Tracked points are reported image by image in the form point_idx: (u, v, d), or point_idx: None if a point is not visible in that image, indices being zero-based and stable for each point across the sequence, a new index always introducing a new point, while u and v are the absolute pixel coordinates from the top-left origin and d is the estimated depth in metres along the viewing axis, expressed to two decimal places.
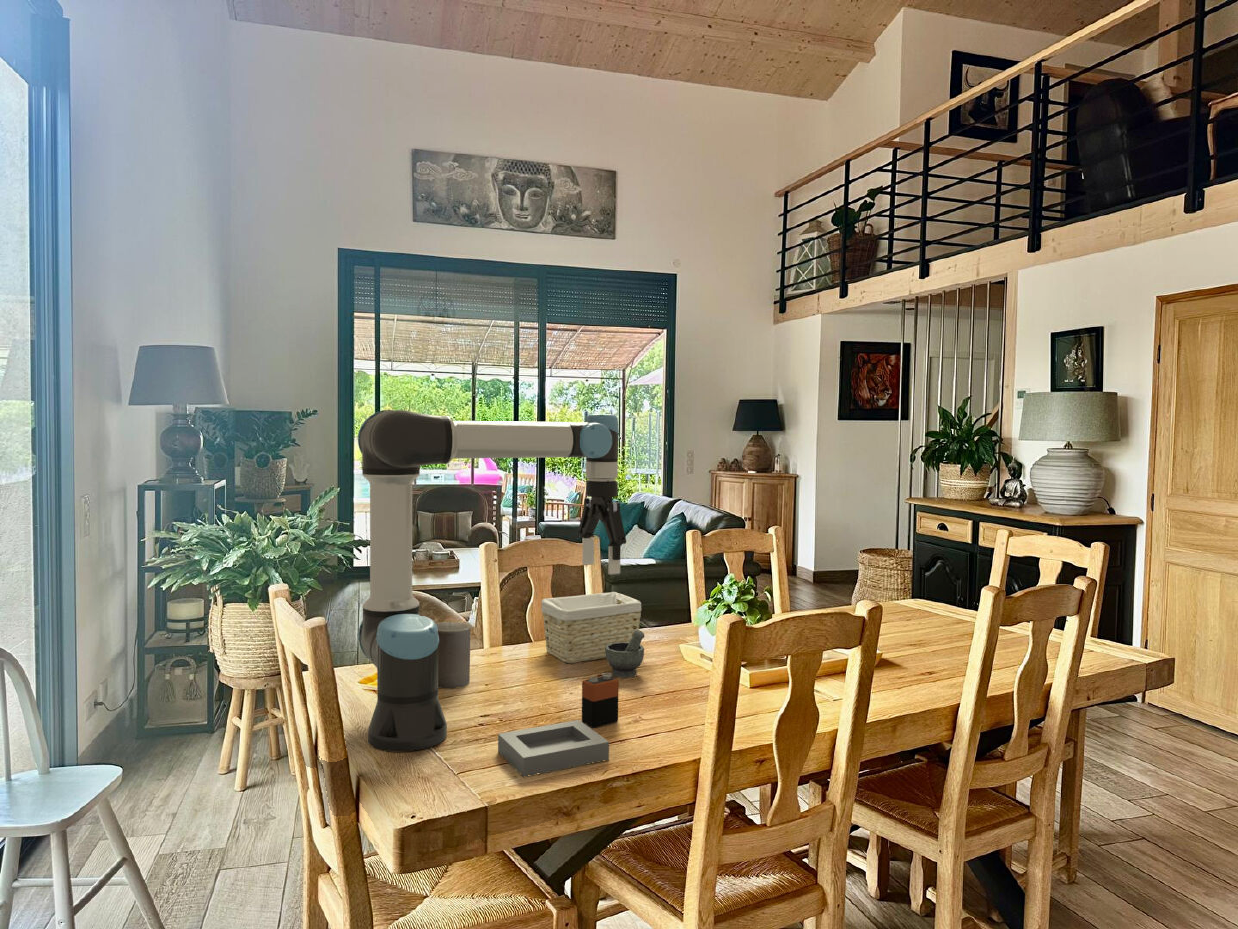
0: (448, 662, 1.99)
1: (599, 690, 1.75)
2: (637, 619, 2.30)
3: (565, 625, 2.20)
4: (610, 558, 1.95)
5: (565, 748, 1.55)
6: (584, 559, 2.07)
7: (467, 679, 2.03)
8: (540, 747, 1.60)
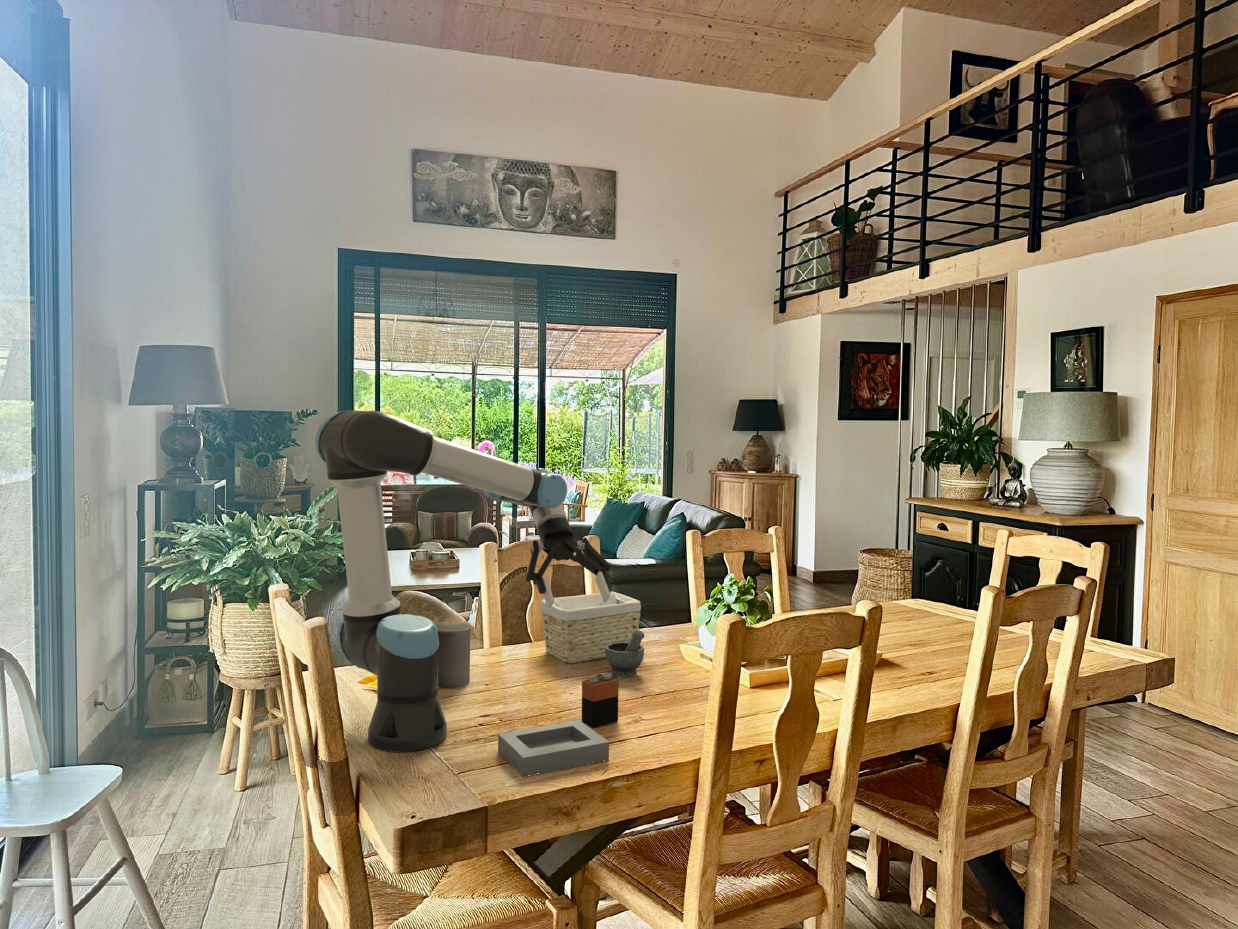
0: (448, 662, 1.99)
1: (599, 690, 1.75)
2: (637, 619, 2.30)
3: (566, 625, 2.20)
4: (605, 582, 1.91)
5: (565, 748, 1.55)
6: (552, 596, 1.84)
7: (467, 679, 2.03)
8: (540, 747, 1.60)
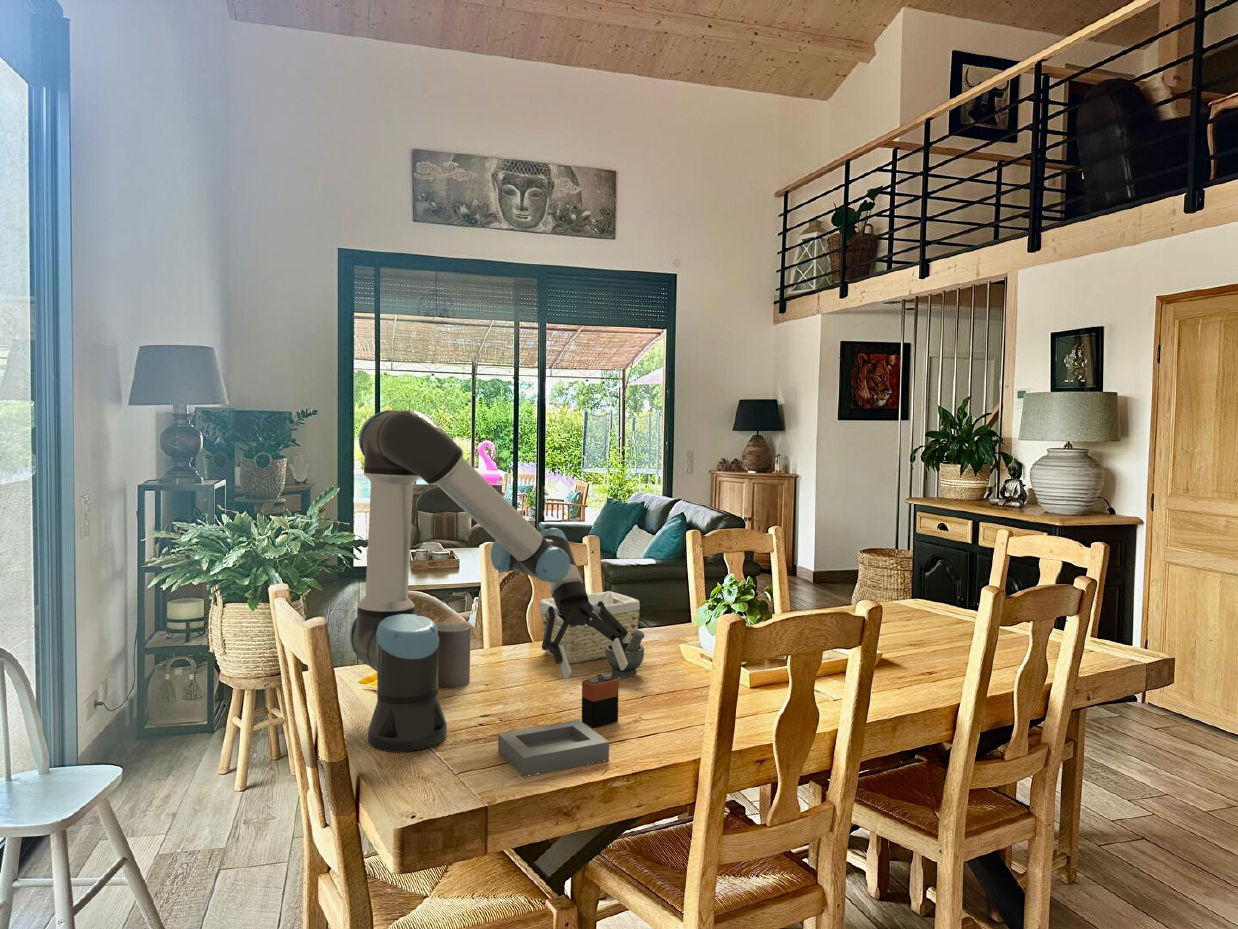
0: (448, 662, 1.99)
1: (599, 690, 1.75)
2: (636, 618, 2.31)
3: None
4: (622, 649, 1.88)
5: (565, 748, 1.55)
6: None
7: (467, 679, 2.03)
8: (540, 747, 1.60)
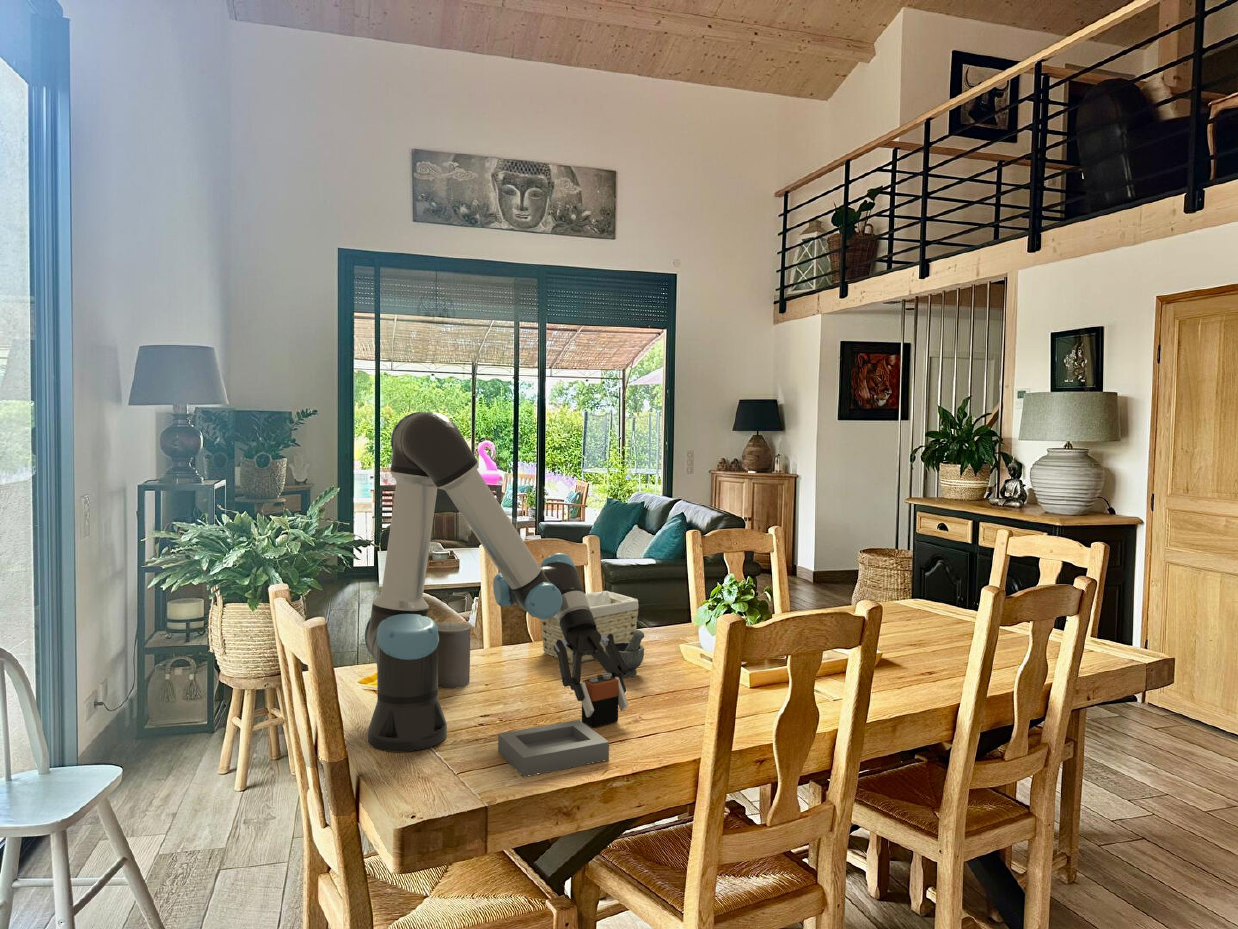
0: (448, 662, 1.99)
1: (599, 689, 1.75)
2: (635, 617, 2.32)
3: None
4: (622, 689, 1.79)
5: (565, 748, 1.55)
6: None
7: (467, 679, 2.03)
8: (540, 747, 1.60)
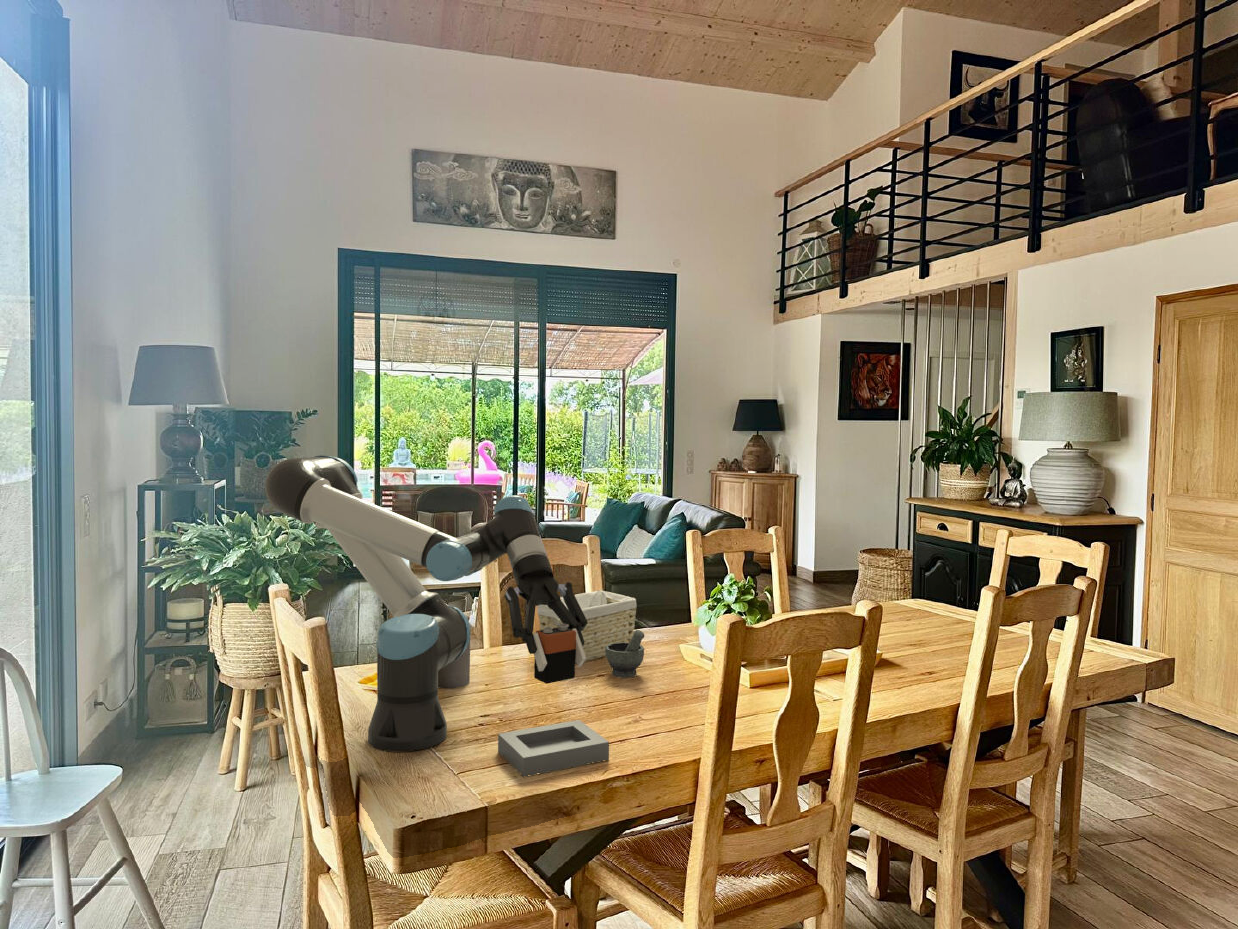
0: None
1: (554, 641, 1.57)
2: (633, 616, 2.34)
3: None
4: (579, 641, 1.60)
5: (565, 748, 1.55)
6: None
7: (467, 679, 2.03)
8: (540, 747, 1.60)
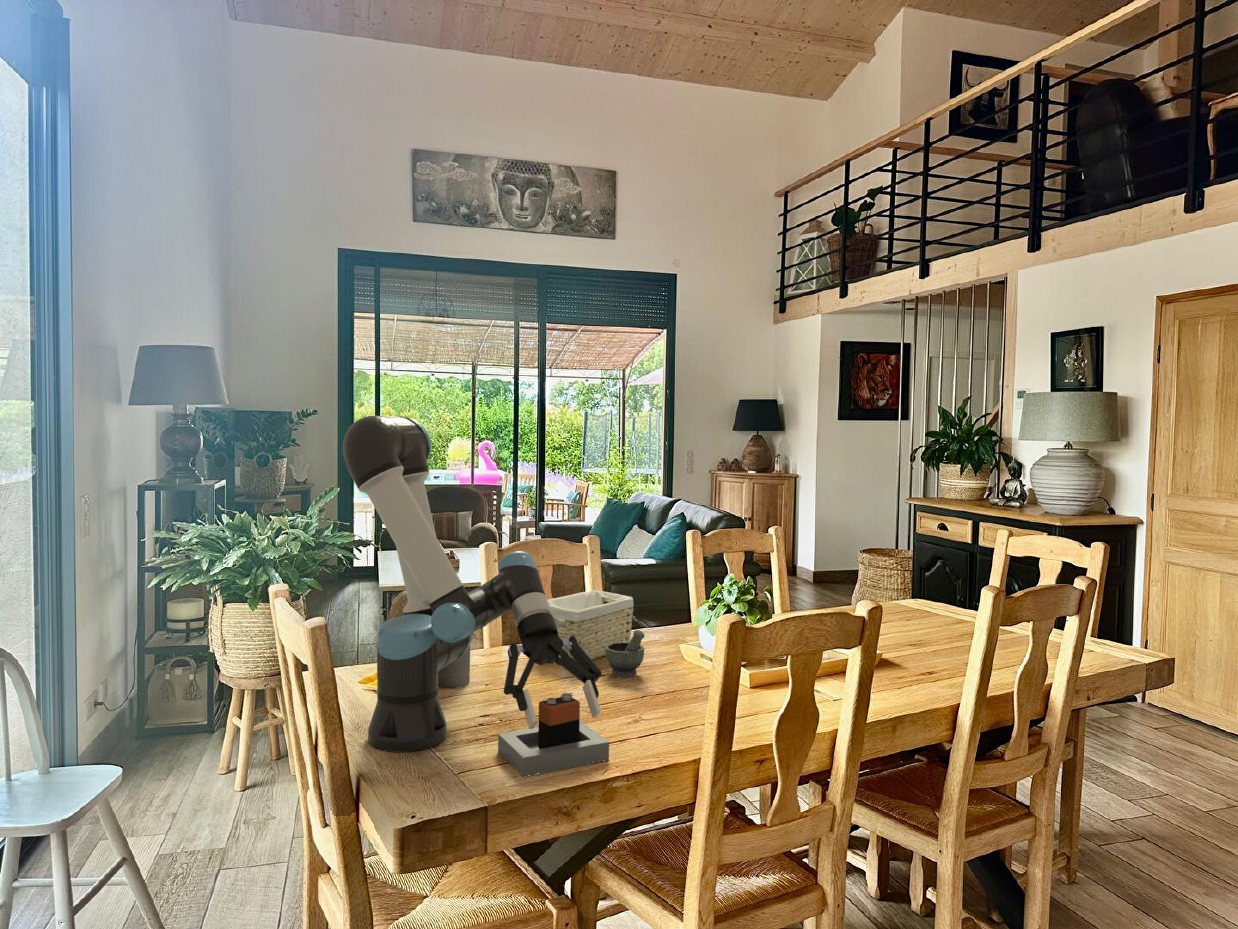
0: None
1: (557, 712, 1.57)
2: (630, 614, 2.35)
3: (575, 626, 2.19)
4: None
5: (565, 748, 1.55)
6: (534, 715, 1.55)
7: (467, 679, 2.03)
8: None
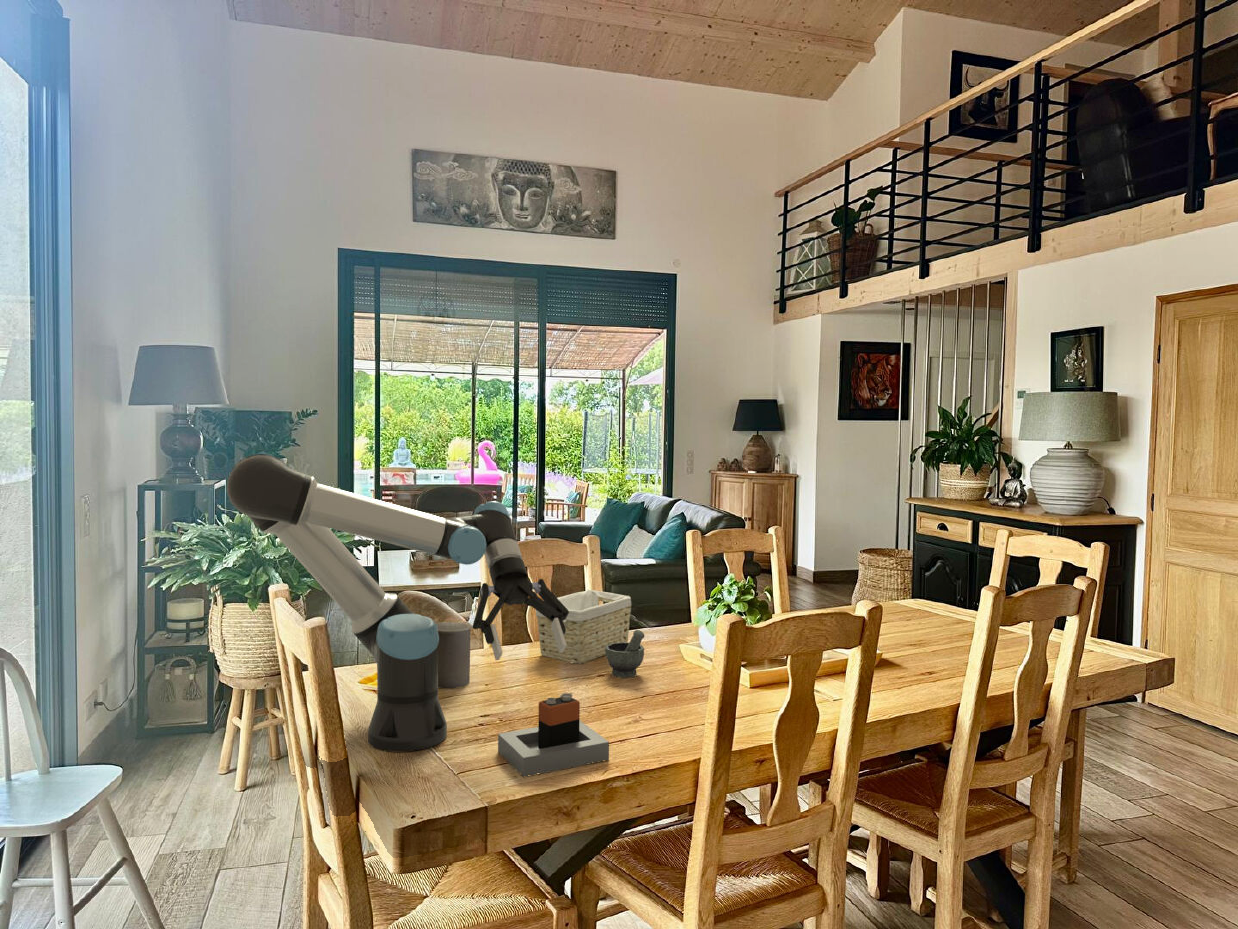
0: (448, 662, 1.99)
1: (557, 712, 1.57)
2: (628, 614, 2.36)
3: (578, 626, 2.19)
4: (561, 630, 1.73)
5: (565, 748, 1.55)
6: (500, 647, 1.66)
7: (467, 679, 2.03)
8: None
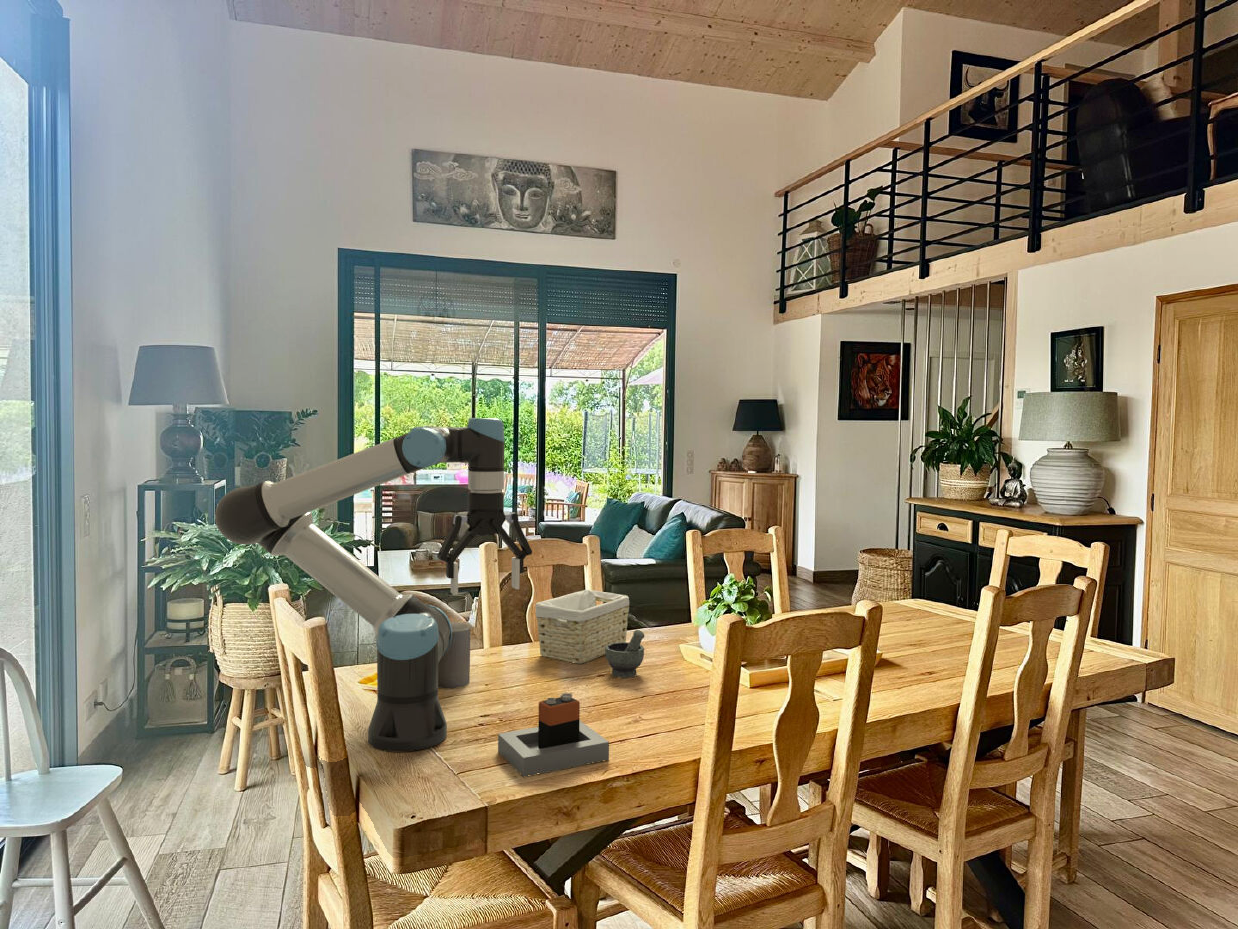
0: (448, 662, 1.99)
1: (557, 712, 1.57)
2: (626, 613, 2.37)
3: (579, 626, 2.19)
4: (518, 572, 1.83)
5: (565, 748, 1.55)
6: None
7: (467, 679, 2.03)
8: None
